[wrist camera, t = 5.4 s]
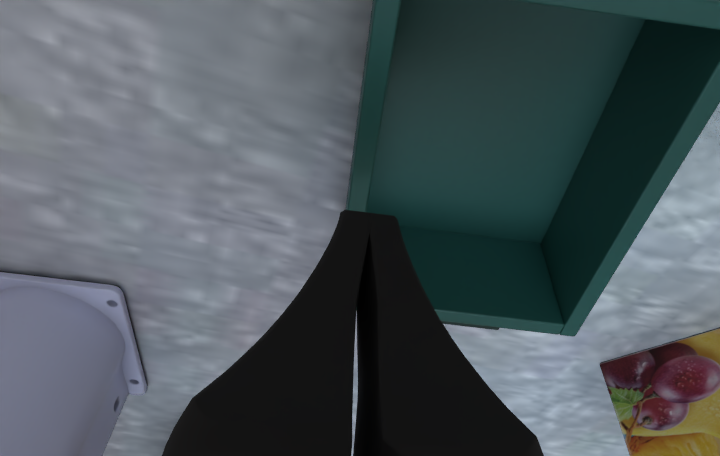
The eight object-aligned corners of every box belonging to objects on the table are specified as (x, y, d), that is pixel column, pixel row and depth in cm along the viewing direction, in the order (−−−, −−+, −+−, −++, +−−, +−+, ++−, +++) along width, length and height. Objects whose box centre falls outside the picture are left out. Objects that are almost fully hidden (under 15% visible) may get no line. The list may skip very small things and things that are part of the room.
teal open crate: (342, 228, 24) (543, 253, 24) (332, 317, 20) (570, 345, 20) (388, -115, 15) (696, -68, 16) (384, -72, 11) (792, -13, 12)
